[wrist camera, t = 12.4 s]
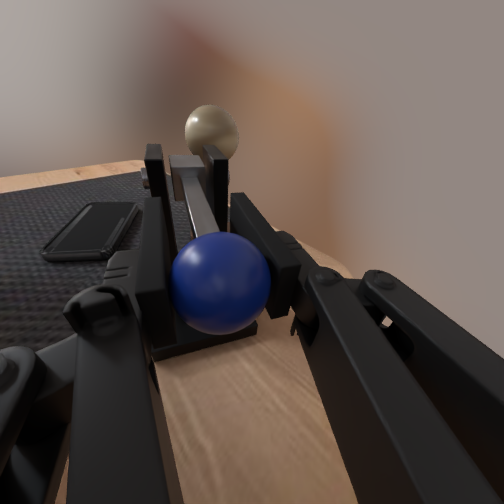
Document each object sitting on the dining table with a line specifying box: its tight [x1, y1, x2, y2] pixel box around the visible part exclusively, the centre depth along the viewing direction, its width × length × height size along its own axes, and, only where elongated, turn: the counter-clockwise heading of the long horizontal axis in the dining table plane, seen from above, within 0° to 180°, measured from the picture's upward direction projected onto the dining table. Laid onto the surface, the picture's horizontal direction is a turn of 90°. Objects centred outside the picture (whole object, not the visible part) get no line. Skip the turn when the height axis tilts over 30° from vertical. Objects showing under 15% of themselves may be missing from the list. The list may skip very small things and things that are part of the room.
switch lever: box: [168, 155, 271, 335], centre depth 12 cm, size 14×4×4 cm, turn 19°
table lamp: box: [185, 105, 239, 241], centre depth 28 cm, size 7×7×17 cm
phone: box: [40, 202, 138, 262], centre depth 32 cm, size 8×1×15 cm
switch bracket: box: [141, 144, 258, 362], centre depth 19 cm, size 12×9×15 cm
